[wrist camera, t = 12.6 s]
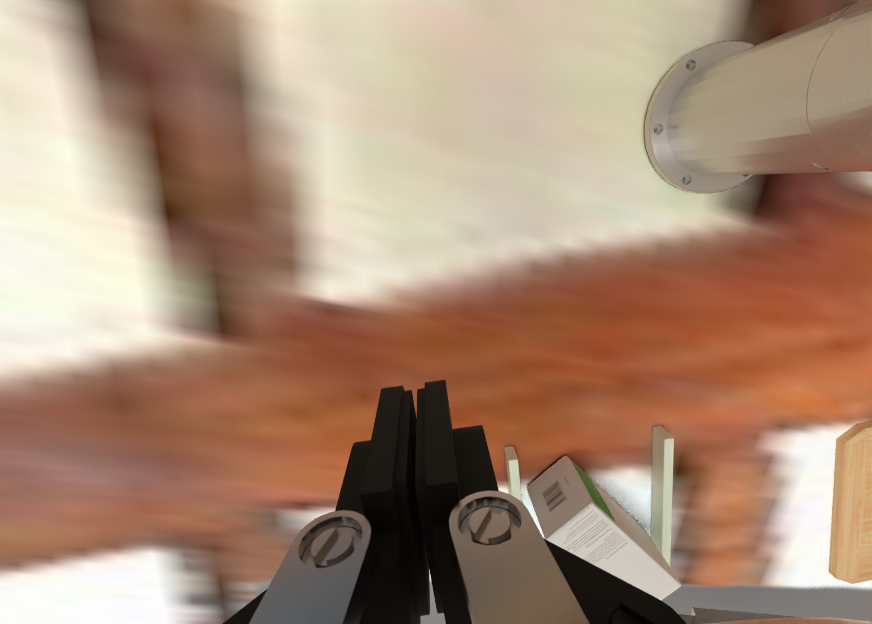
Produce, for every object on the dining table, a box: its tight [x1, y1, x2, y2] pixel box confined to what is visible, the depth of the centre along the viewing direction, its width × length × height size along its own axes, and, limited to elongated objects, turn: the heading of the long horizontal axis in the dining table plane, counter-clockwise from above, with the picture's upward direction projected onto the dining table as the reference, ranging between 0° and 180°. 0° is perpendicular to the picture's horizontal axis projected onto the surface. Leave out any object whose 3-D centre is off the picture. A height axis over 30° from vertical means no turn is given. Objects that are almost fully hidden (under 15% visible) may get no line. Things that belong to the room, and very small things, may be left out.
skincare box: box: [527, 456, 681, 600], centre depth 47 cm, size 8×7×16 cm
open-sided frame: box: [504, 426, 674, 566], centre depth 50 cm, size 18×21×2 cm
